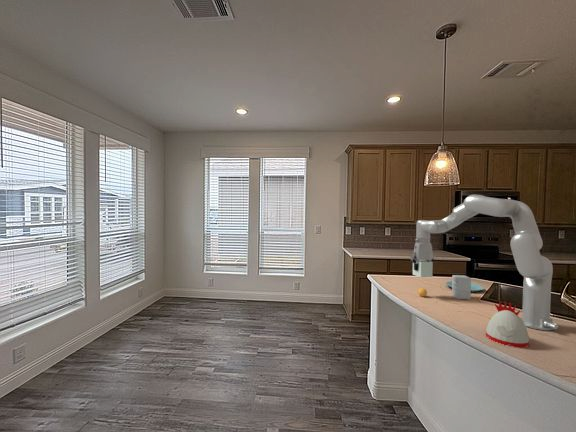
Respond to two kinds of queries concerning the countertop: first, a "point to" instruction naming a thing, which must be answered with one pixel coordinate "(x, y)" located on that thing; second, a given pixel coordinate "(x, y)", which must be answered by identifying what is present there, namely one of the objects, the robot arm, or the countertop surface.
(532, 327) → the robot arm
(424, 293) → the ball
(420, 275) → the mint green block
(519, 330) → the kitchen timer
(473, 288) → the plate
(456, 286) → the supplement box
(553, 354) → the countertop surface
